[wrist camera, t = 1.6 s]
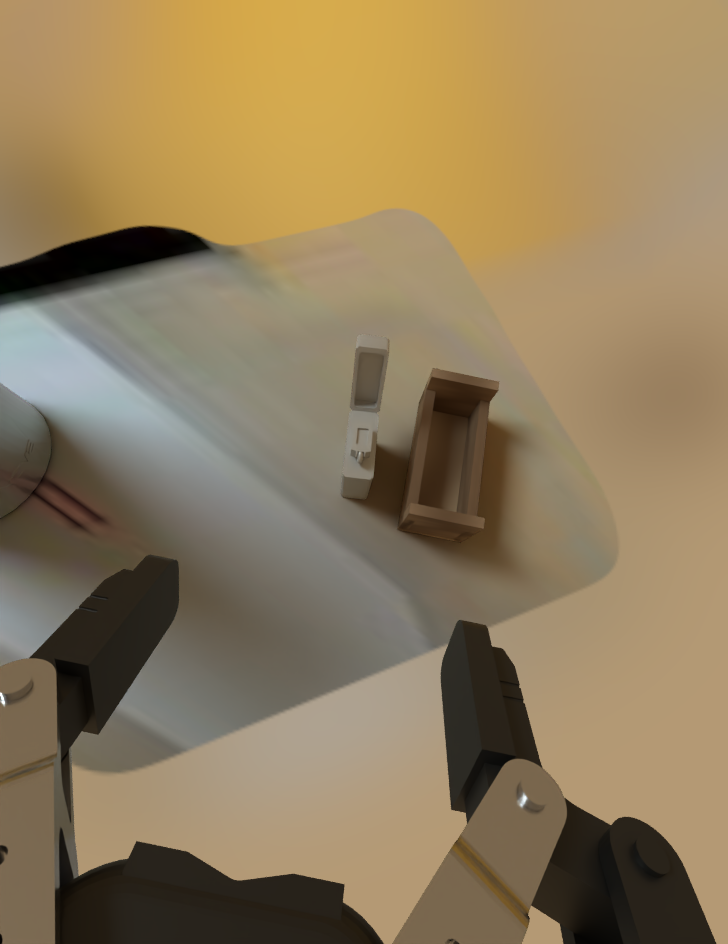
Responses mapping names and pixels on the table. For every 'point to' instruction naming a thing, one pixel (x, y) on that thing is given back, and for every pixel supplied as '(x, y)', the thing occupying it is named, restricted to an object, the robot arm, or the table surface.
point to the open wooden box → (447, 457)
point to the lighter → (364, 415)
